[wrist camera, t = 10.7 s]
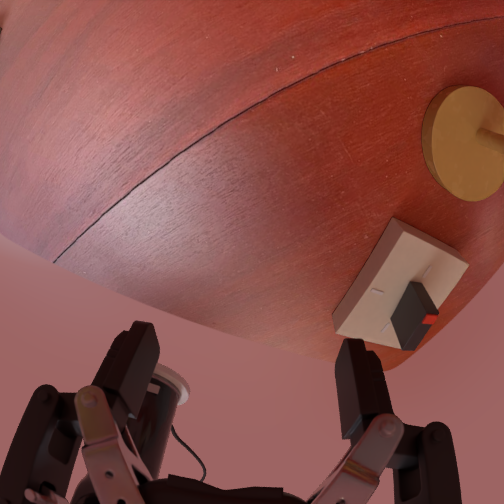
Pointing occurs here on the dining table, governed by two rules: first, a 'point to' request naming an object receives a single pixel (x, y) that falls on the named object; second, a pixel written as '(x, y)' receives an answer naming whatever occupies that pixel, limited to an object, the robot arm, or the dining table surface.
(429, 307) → the dimmer knob
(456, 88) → the lamp
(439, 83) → the dining table surface
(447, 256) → the dimmer panel
